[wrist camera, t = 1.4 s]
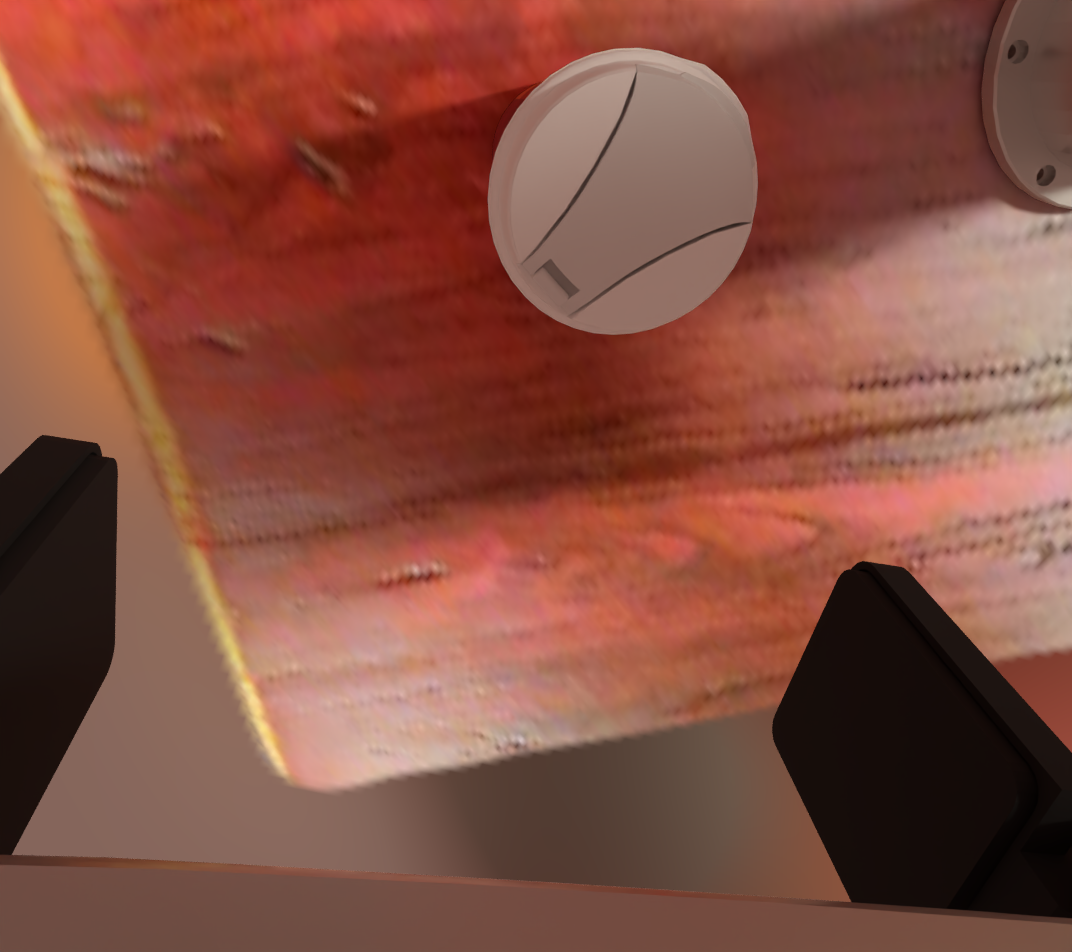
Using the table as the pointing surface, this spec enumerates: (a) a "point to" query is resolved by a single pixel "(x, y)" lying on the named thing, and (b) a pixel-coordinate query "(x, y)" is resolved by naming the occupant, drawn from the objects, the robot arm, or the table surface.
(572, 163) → the paper cup
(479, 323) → the table surface
